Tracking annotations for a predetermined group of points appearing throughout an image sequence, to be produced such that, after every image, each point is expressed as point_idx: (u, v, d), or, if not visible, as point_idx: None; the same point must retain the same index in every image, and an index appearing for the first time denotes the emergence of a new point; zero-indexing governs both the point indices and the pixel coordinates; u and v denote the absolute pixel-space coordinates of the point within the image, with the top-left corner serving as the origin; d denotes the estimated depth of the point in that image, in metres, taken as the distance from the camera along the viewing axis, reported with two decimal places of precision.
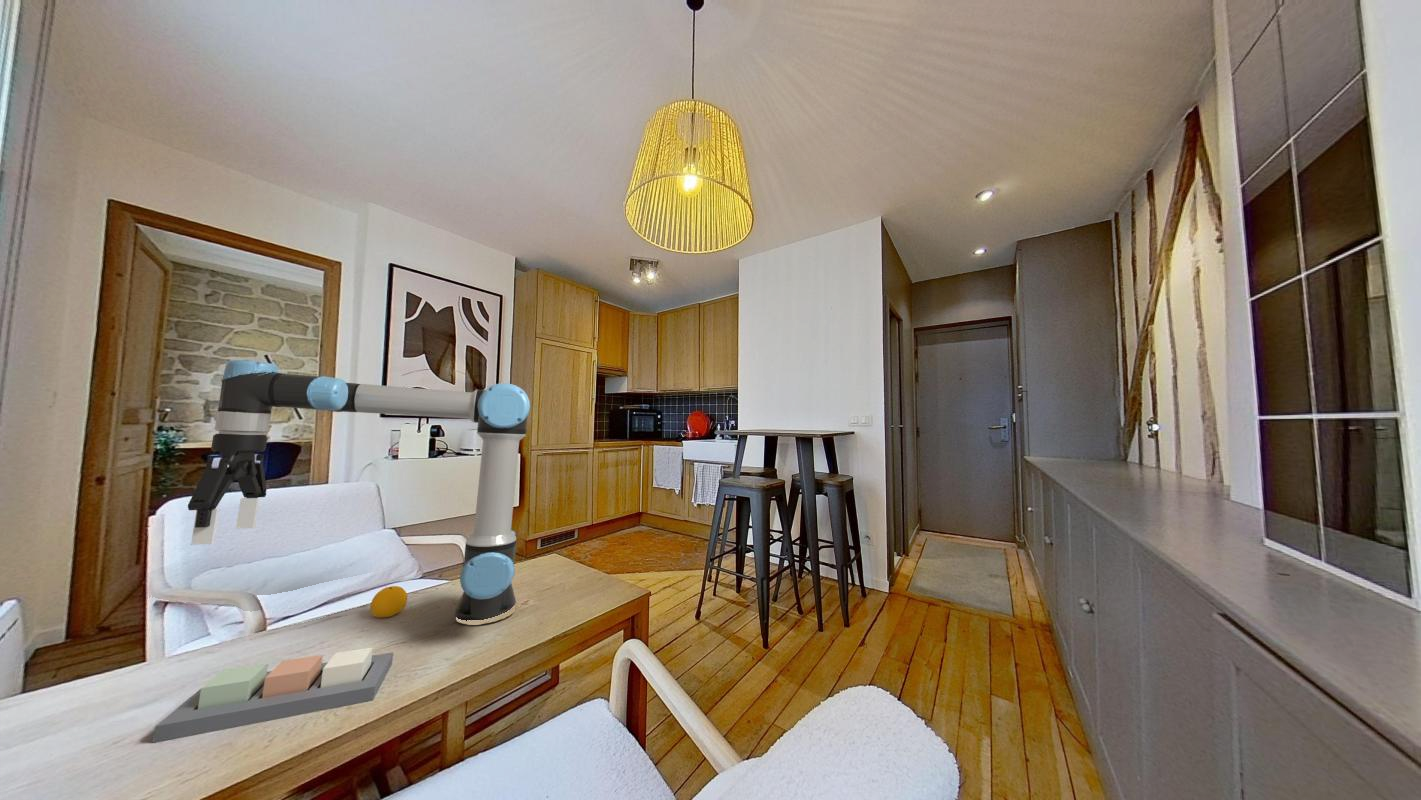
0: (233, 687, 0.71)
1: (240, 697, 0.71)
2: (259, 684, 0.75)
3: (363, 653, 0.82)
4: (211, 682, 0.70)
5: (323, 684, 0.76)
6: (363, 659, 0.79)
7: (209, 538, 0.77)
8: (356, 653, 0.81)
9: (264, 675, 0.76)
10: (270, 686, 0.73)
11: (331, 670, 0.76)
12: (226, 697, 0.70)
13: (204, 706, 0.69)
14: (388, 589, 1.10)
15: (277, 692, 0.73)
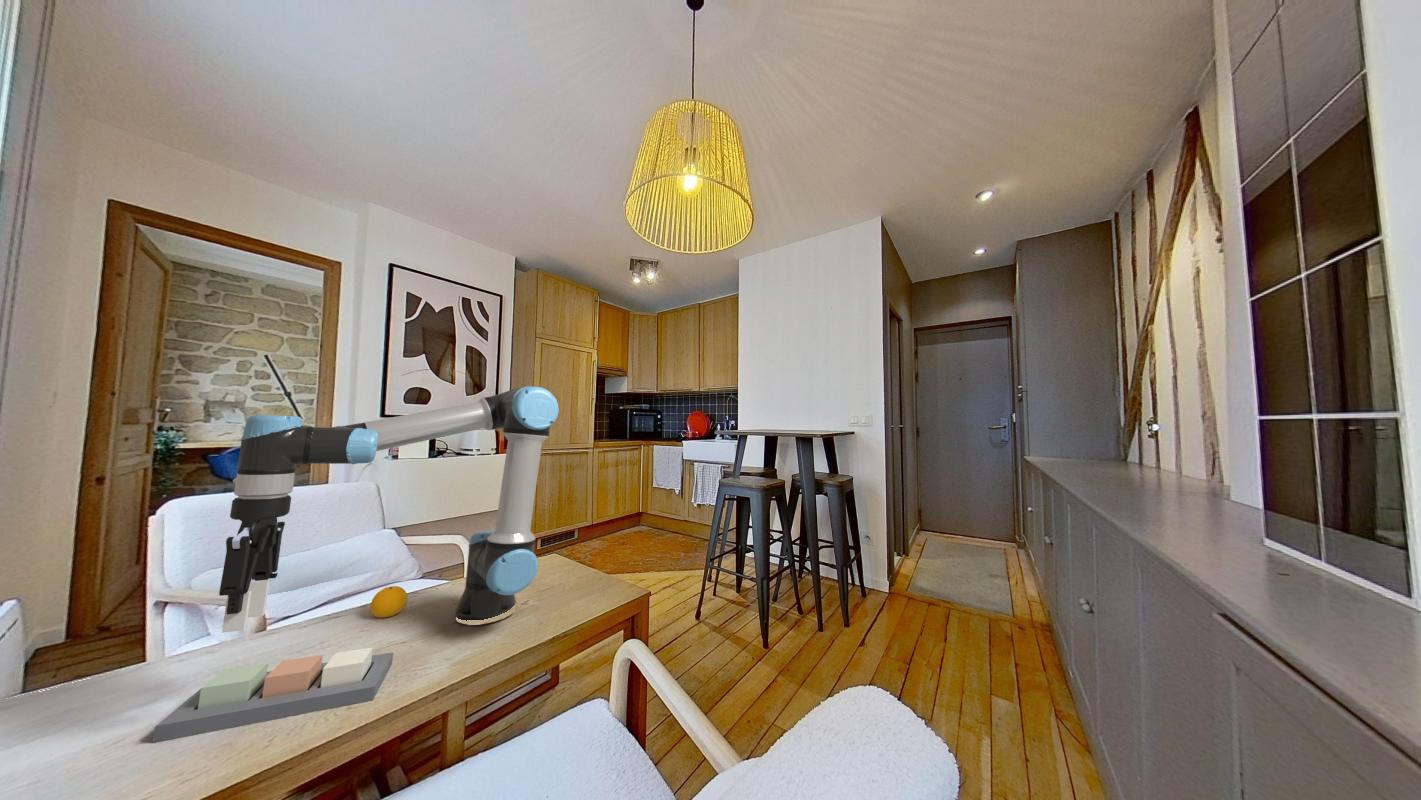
0: (233, 687, 0.71)
1: (240, 697, 0.71)
2: (259, 684, 0.75)
3: (363, 653, 0.82)
4: (211, 682, 0.70)
5: (323, 684, 0.76)
6: (363, 659, 0.79)
7: (241, 624, 0.71)
8: (356, 653, 0.81)
9: (264, 675, 0.76)
10: (270, 686, 0.73)
11: (331, 670, 0.76)
12: (226, 697, 0.70)
13: (204, 706, 0.69)
14: (388, 589, 1.10)
15: (277, 692, 0.73)
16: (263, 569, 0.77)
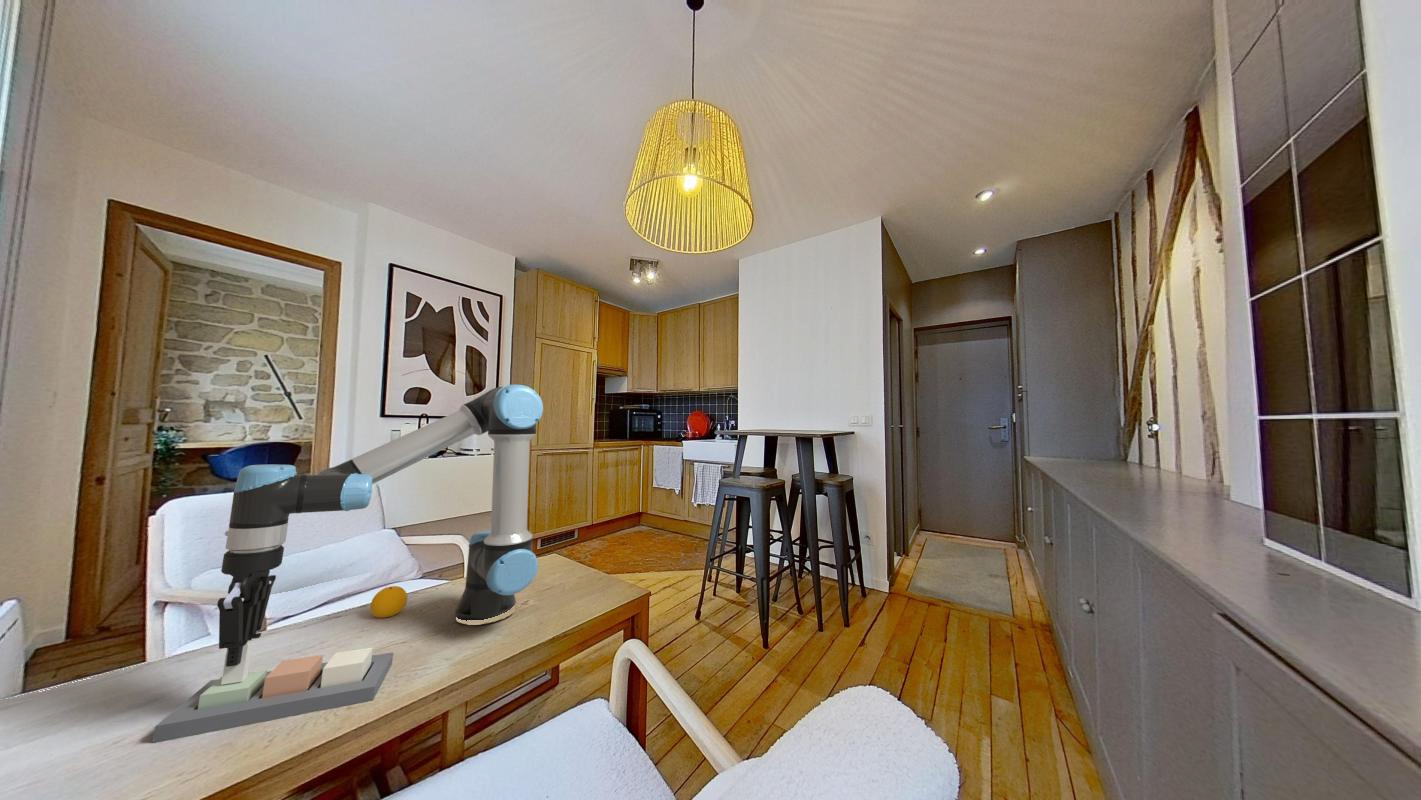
0: (232, 695, 0.70)
1: None
2: None
3: (363, 653, 0.82)
4: (210, 689, 0.70)
5: (323, 684, 0.76)
6: (363, 659, 0.79)
7: (240, 675, 0.72)
8: (356, 653, 0.81)
9: (263, 682, 0.76)
10: (270, 686, 0.73)
11: (331, 670, 0.76)
12: (225, 704, 0.70)
13: None
14: (388, 589, 1.10)
15: (277, 692, 0.73)
16: None
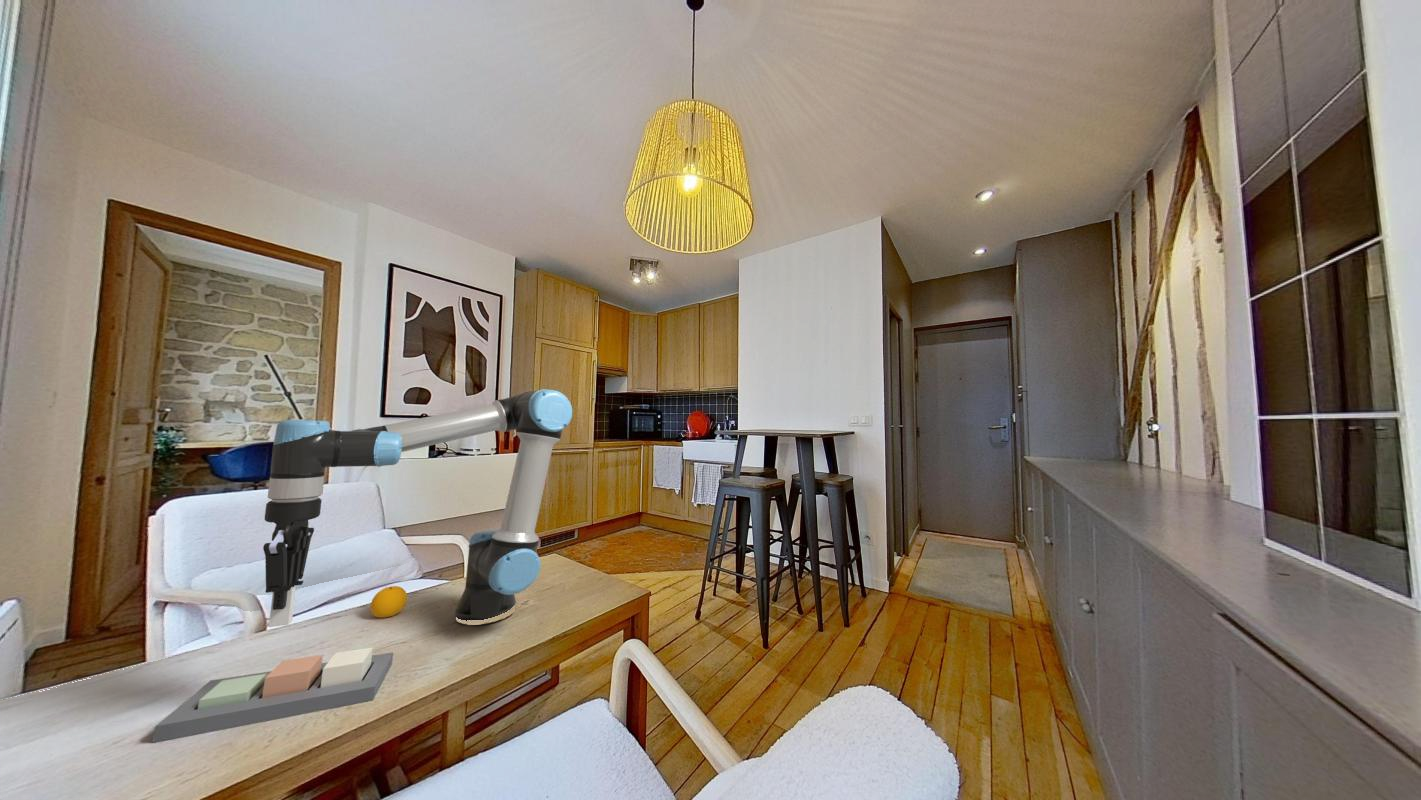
0: (231, 699, 0.70)
1: None
2: None
3: (363, 653, 0.82)
4: (209, 694, 0.70)
5: (323, 684, 0.76)
6: (363, 659, 0.79)
7: (286, 619, 0.76)
8: (356, 653, 0.81)
9: (262, 686, 0.76)
10: (270, 686, 0.73)
11: (331, 670, 0.76)
12: None
13: None
14: (388, 589, 1.10)
15: (277, 692, 0.73)
16: None
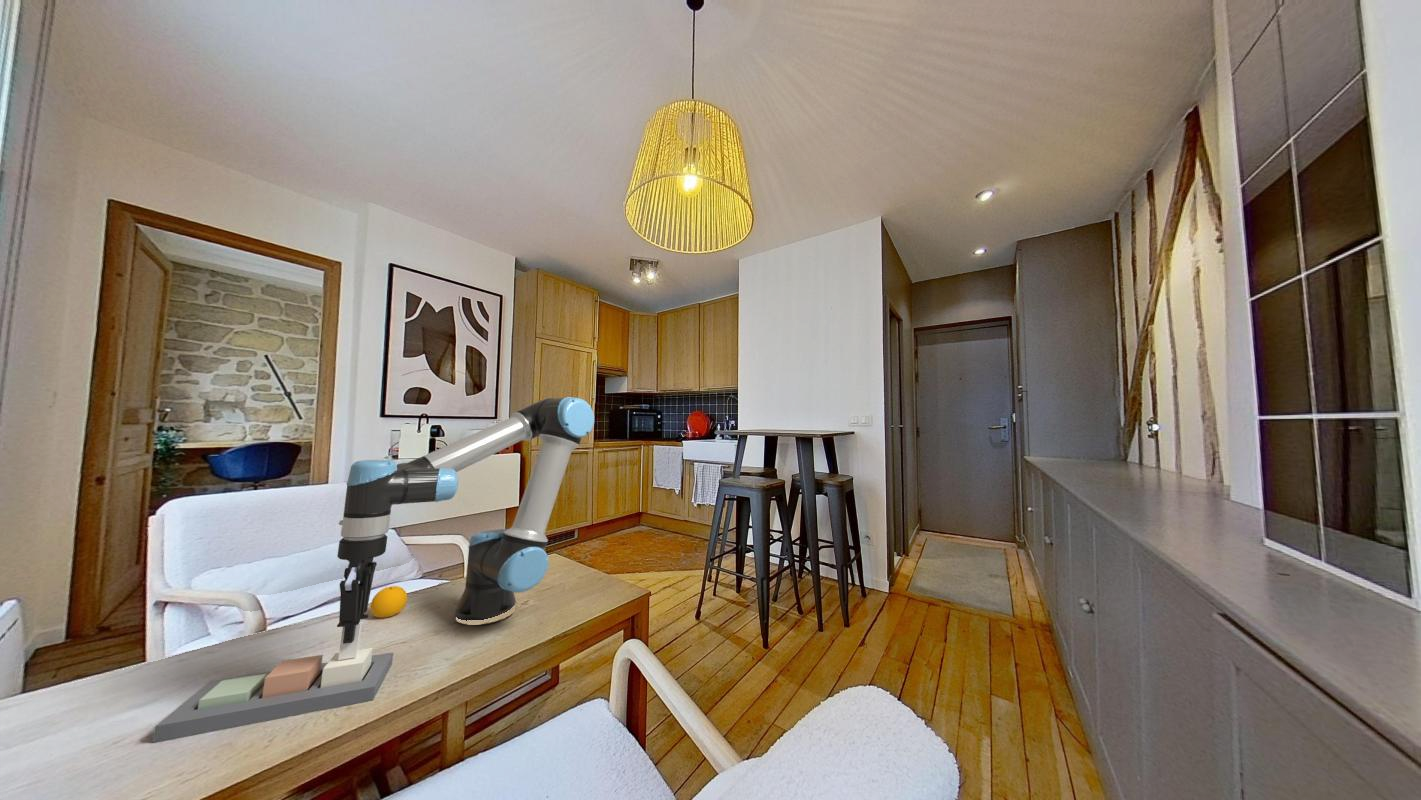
0: (231, 699, 0.70)
1: None
2: None
3: (363, 653, 0.82)
4: (209, 694, 0.70)
5: (323, 684, 0.76)
6: (363, 659, 0.79)
7: (354, 652, 0.80)
8: None
9: (262, 686, 0.76)
10: (270, 686, 0.73)
11: (331, 670, 0.76)
12: None
13: None
14: (388, 589, 1.10)
15: (277, 692, 0.73)
16: None
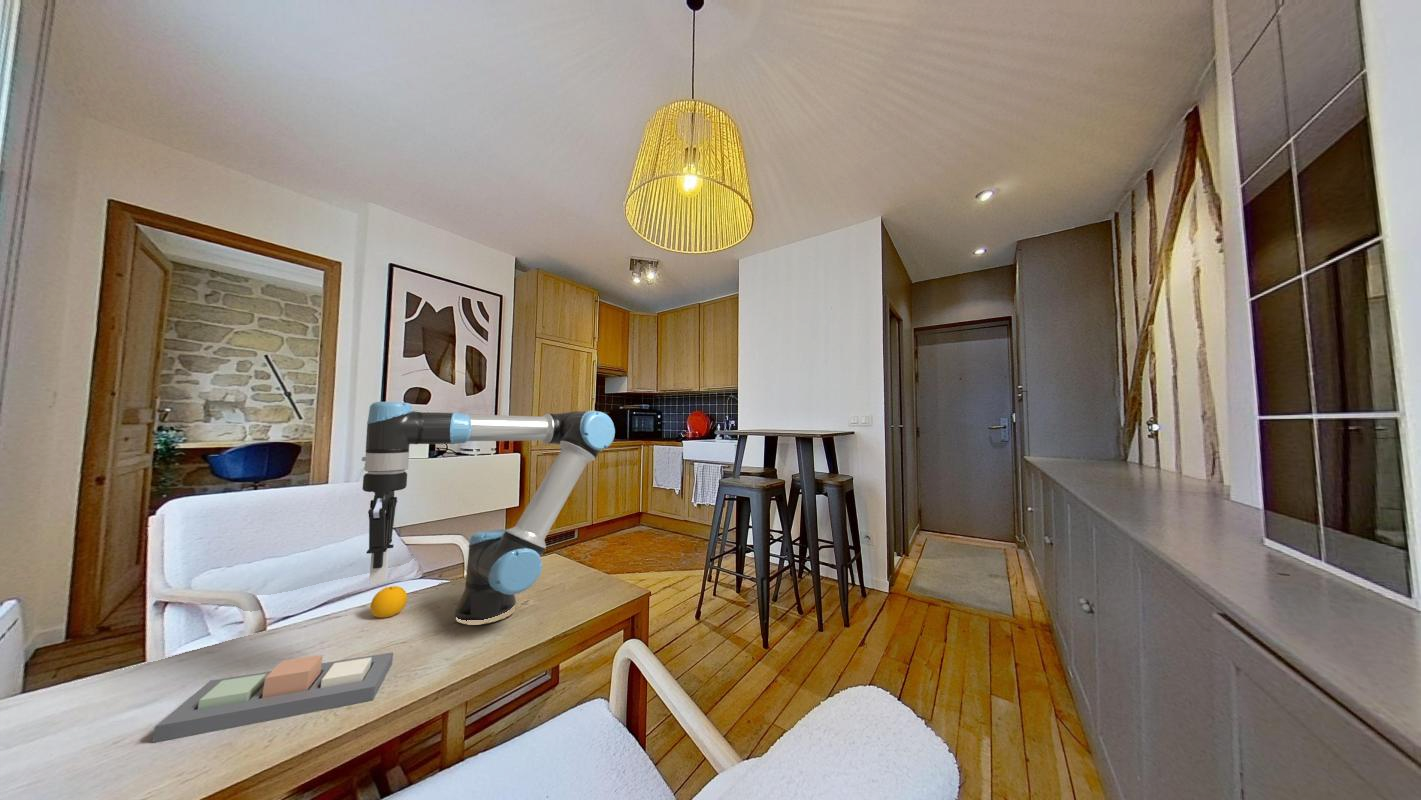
0: (231, 699, 0.70)
1: None
2: None
3: (362, 663, 0.81)
4: (209, 694, 0.70)
5: None
6: (362, 670, 0.79)
7: (383, 577, 0.86)
8: (355, 663, 0.81)
9: (262, 686, 0.76)
10: (270, 686, 0.73)
11: (330, 681, 0.76)
12: None
13: None
14: (388, 589, 1.10)
15: (277, 692, 0.73)
16: None
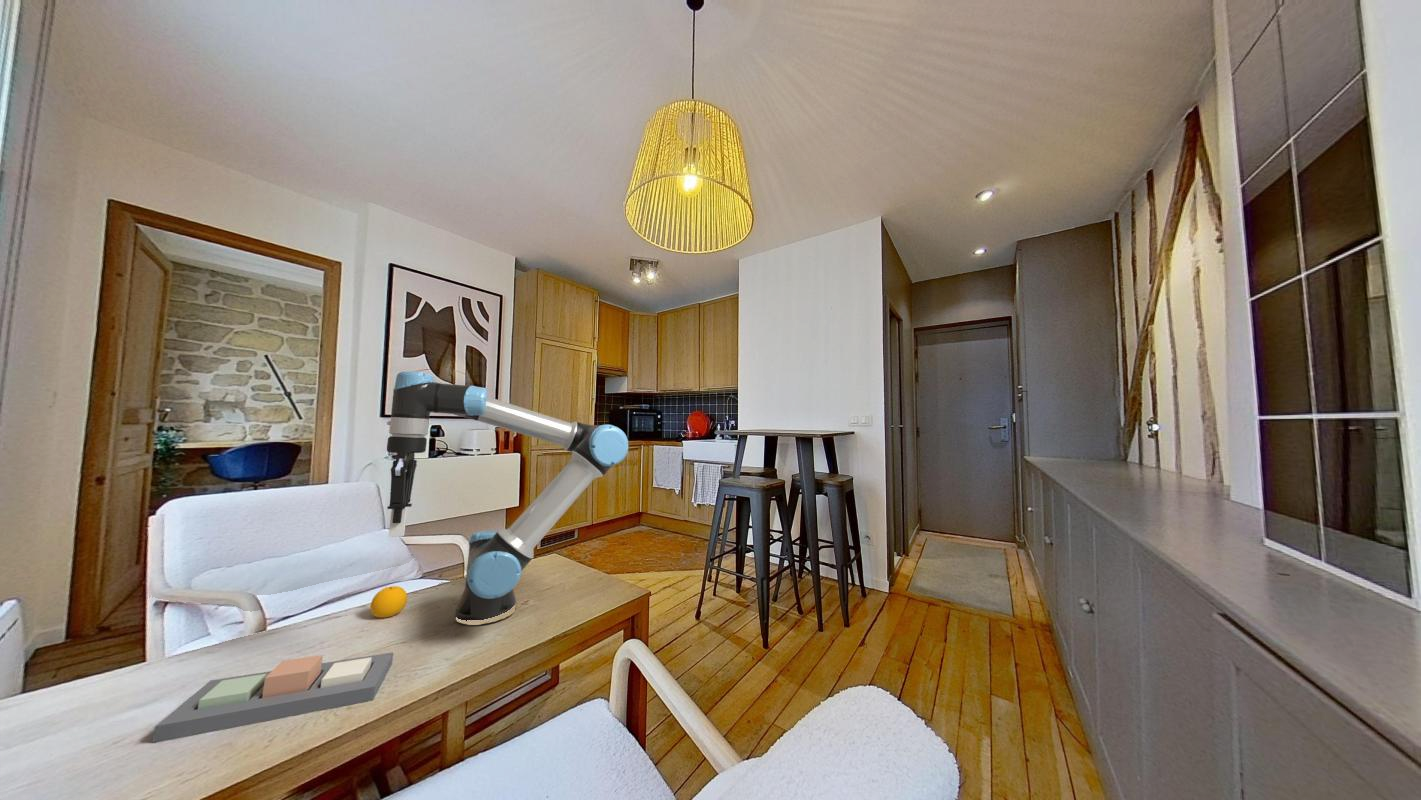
0: (231, 699, 0.70)
1: None
2: None
3: (362, 663, 0.81)
4: (209, 694, 0.70)
5: None
6: (362, 670, 0.79)
7: (401, 532, 0.94)
8: (355, 663, 0.81)
9: (262, 686, 0.76)
10: (270, 686, 0.73)
11: (330, 681, 0.76)
12: None
13: None
14: (388, 589, 1.10)
15: (277, 692, 0.73)
16: None
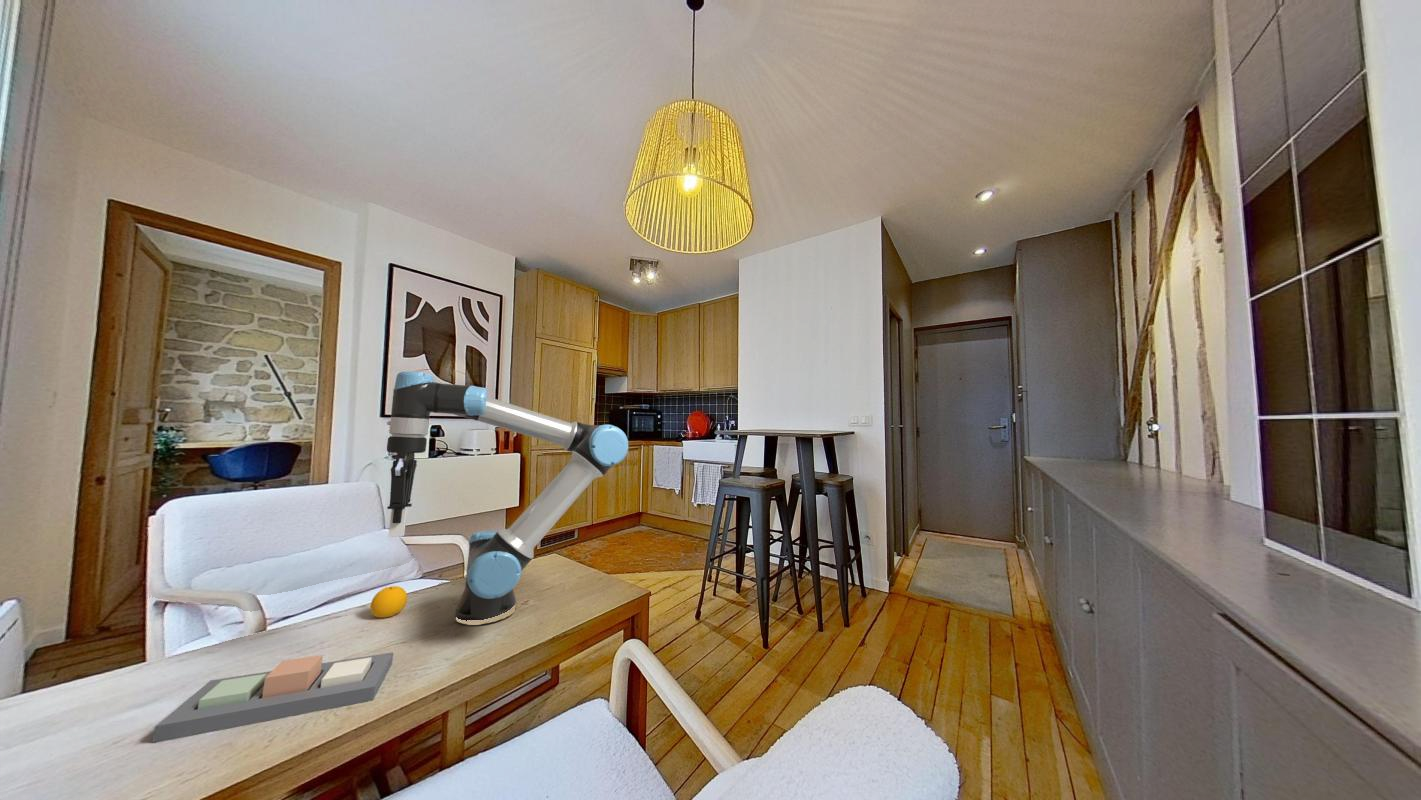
0: (231, 699, 0.70)
1: None
2: None
3: (362, 663, 0.81)
4: (209, 694, 0.70)
5: None
6: (362, 670, 0.79)
7: (401, 532, 0.94)
8: (355, 663, 0.81)
9: (262, 686, 0.76)
10: (270, 686, 0.73)
11: (330, 681, 0.76)
12: None
13: None
14: (388, 589, 1.10)
15: (277, 692, 0.73)
16: None
